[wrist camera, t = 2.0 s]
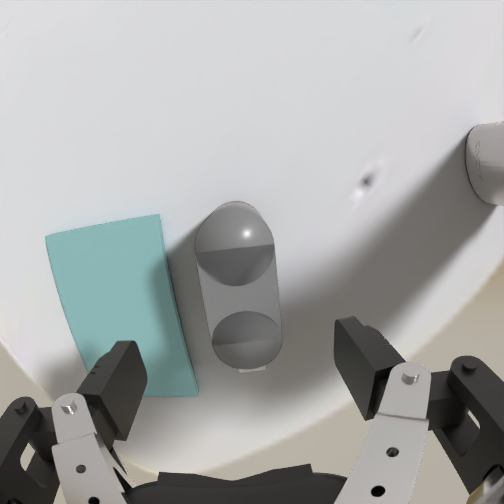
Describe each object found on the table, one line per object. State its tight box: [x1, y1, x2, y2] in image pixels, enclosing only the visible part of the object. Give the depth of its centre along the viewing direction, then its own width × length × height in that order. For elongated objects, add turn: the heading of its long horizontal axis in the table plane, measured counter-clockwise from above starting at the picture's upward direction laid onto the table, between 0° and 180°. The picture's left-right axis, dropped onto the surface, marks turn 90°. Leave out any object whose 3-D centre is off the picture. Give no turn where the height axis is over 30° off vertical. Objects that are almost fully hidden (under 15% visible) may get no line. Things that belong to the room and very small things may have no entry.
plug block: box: [195, 201, 282, 373], centre depth 20 cm, size 4×12×7 cm, turn 6°
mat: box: [45, 214, 199, 397], centre depth 23 cm, size 12×18×1 cm, turn 6°
